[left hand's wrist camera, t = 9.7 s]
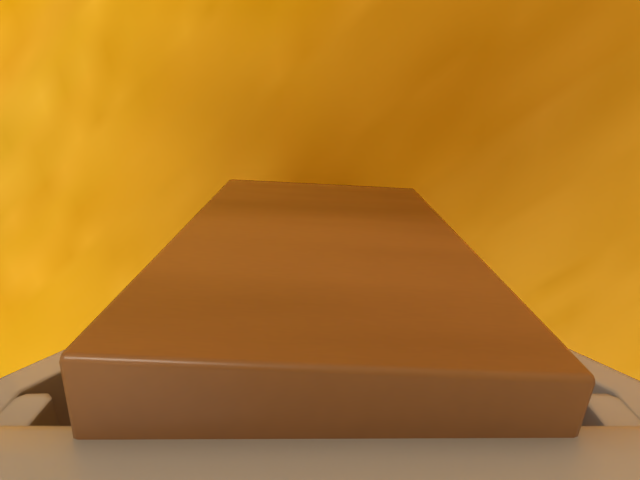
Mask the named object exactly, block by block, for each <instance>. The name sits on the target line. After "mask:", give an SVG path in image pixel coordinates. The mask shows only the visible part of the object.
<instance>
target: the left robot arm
mask: <svg viewBox="0 0 640 480" xmlns="http://www.w3.org/2000/svg"><path fill="white" fill-rule="evenodd" d="M569 350H570V349H569ZM63 351H64V350H63ZM63 351H61V352H58V353H56V354H54V355H52V356H49V357H47V358H45V359H43V360H40V361H38V362H36V363H34V364H31V365H29V366H27V367H25V368H22V369H20V370H18V371H16V372H13V373H11V374H9V375H7V376H5V377H2V378H0V480H640V381H639V380H636V379H634V378H632V377H630V376H627V375H625V374H623V373H621V372H619V371H616V370H614V369H612V368H610V367H608V366H605V365H603V364H601V363H599V362H596V361H594V360H592V359H590V358H588V357H585V356H583V355H581V354H579V353H577V352H574V351H572V350H570V351H571V352H572V353H573V354H574V355H575V356H576V358H577V359H578V360H579V361H580V362H581V363H582V364H583V365H584V366H585V367H586V368H587V369H588V370H589V371H590V372H591V373H592V374H593V375H594V378H595V386H594V389H593V392H592V395H591V398H590V401H589V404H588V407H587V410H586V413H585V416H584V419H583V422H582V425H581V428H580V431H579V434H578V436H577V437H575V438H408V439H144V440H77V439H74V438H73V434H72V428H71V423H70V418H69V412H68V407H67V402H66V396H65V391H64V386H63V380H62V375H61V370H60V364H59V360H60V356H61V354H62V352H63Z"/></svg>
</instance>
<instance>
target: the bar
mask: <svg viewBox="0 0 640 480" xmlns="http://www.w3.org/2000/svg"><path fill="white" fill-rule="evenodd" d="M59 364H60V370H61V375H62V380H63V386H64V391H65V396H66V402H67V407H68V412H69V418H70V423H71V428H72V434H73V438H74V439H77V440H144V439H408V438H575V437H577V436H578V434H579V431H580V428H581V425H582V422H583V419H584V416H585V413H586V410H587V407H588V404H589V401H590V398H591V395H592V392H593V389H594V386H595V378H594V375H593V374H592V373H591V372H590V371H589V370H588V369H587V368H586V367H585V366H584V365H583V364H582V363H581V362H580V361H579V360H578V359H577V358H576V356H575V355H574V354H573V353H572V352H571V351H570V350H569V349H568V348H567V347H566V346H565V345H564V344H563V343H562V342H561V341H560V340H559V339H558V338H557V337H556V336H555V335H554V334H553V333H552V332H551V331H550V330H549V329H548V328H547V327H546V325H545V324H544V323H543V322H542V321H541V320H540V319H539V318H538V317H537V316H536V315H535V314H534V313H533V312H532V311H531V310H530V309H529V308H528V307H527V306H526V305H525V304H524V303H523V302H522V301H521V300H520V299H519V298H518V297H517V296H516V294H515V293H514V292H513V291H512V290H511V289H510V288H509V287H508V286H507V285H506V284H505V283H504V282H503V281H502V280H501V279H500V278H499V277H498V276H497V275H496V274H495V273H494V272H493V271H492V270H491V269H490V268H489V267H488V266H487V265H486V263H485V262H484V261H483V260H482V259H481V258H480V257H479V256H478V255H477V254H476V253H475V252H474V251H473V250H472V249H471V248H470V247H469V246H468V245H467V244H466V243H465V242H464V241H463V240H462V239H461V238H460V237H459V236H458V235H457V234H456V232H455V231H454V230H453V229H452V228H451V227H450V226H449V225H448V224H447V223H446V222H445V221H444V220H443V219H442V218H441V217H440V216H439V215H438V214H437V213H436V212H435V211H434V210H433V209H432V208H431V207H430V206H429V205H428V204H427V203H426V201H425V200H424V199H423V198H422V197H421V196H420V195H419V194H418V193H417V192H416V191H415V190H414V189H408V188H389V187H369V186H349V185H329V184H309V183H290V182H270V181H250V180H229V181H228V182H227V183H226V184H225V185H224V186H223V187H222V189H221V190H220V191H219V192H218V193H217V194H216V195H215V196H214V197H213V198H212V199H211V200H210V201H209V202H208V203H207V204H206V205H205V206H204V207H203V208H202V209H201V210H200V211H199V212H198V213H197V214H196V215H195V216H194V217H193V218H192V219H191V220H190V222H189V223H188V224H187V225H186V226H185V227H184V228H183V229H182V230H181V231H180V232H179V233H178V234H177V235H176V236H175V237H174V238H173V239H172V240H171V241H170V242H169V243H168V244H167V245H166V246H165V247H164V248H163V249H162V250H161V251H160V252H159V253H158V255H157V256H156V257H155V258H154V259H153V260H152V261H151V262H150V263H149V264H148V265H147V266H146V267H145V268H144V269H143V270H142V271H141V272H140V273H139V274H138V275H137V276H136V277H135V278H134V279H133V280H132V281H131V282H130V283H129V284H128V285H127V286H126V287H125V289H124V290H123V291H122V292H121V293H120V294H119V295H118V296H117V297H116V298H115V299H114V300H113V301H112V302H111V303H110V304H109V305H108V306H107V307H106V308H105V309H104V310H103V311H102V312H101V313H100V314H99V315H98V316H97V317H96V318H95V319H94V320H93V322H92V323H91V324H90V325H89V326H88V327H87V328H86V329H85V330H84V331H83V332H82V333H81V334H80V335H79V336H78V337H77V338H76V339H75V340H74V341H73V342H72V343H71V344H70V345H69V346H68V347H67V348H66V349H65V350H64V351H63V352H62V354H61V356H60V360H59Z"/></svg>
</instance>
